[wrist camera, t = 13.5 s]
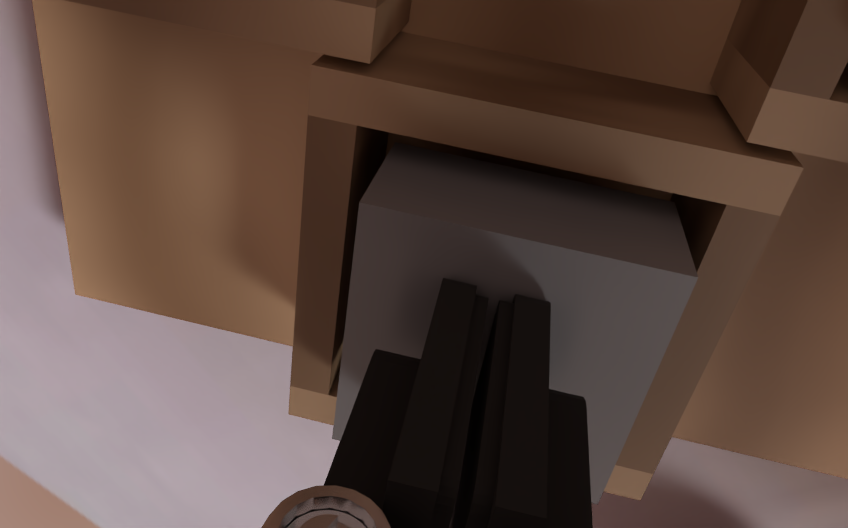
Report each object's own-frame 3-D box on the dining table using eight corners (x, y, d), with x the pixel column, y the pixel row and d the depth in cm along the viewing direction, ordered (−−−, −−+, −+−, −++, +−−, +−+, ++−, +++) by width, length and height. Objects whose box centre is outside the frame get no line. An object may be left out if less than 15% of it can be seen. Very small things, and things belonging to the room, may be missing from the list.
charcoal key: (675, 202, 11) (698, 277, 9) (593, 409, 14) (598, 504, 12) (394, 141, 12) (359, 201, 10) (365, 355, 14) (332, 438, 12)
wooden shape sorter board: (1517, -483, 9) (2366, -781, 5) (870, 431, 18) (963, 609, 14) (21, -683, 10) (-351, -1049, 6) (118, 255, 19) (-7, 367, 15)
